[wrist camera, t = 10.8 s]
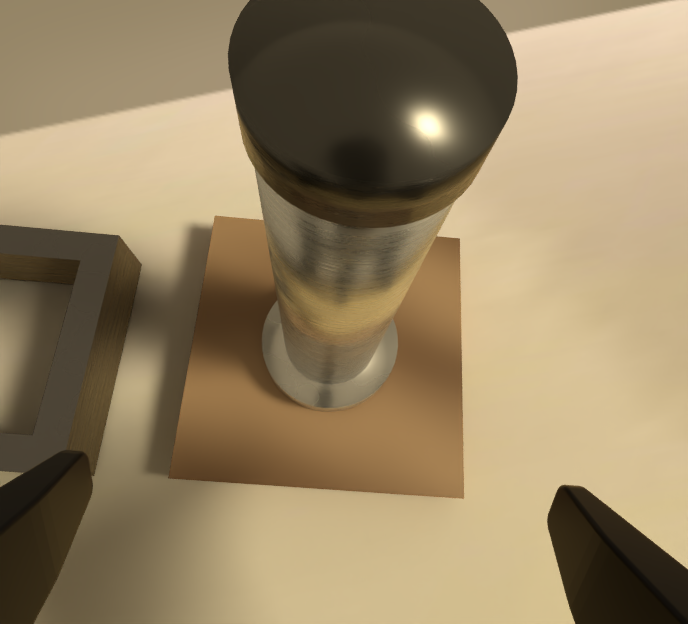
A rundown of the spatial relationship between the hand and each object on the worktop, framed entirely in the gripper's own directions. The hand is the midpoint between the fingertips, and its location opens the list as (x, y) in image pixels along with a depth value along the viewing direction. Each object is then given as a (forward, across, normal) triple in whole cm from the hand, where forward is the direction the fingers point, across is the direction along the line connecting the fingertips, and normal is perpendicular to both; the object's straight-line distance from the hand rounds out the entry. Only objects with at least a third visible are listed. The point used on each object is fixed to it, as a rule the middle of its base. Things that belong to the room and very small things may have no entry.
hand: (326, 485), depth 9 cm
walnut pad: (+10, 0, +3) cm, 10 cm away
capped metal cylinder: (+9, 0, +2) cm, 9 cm away
